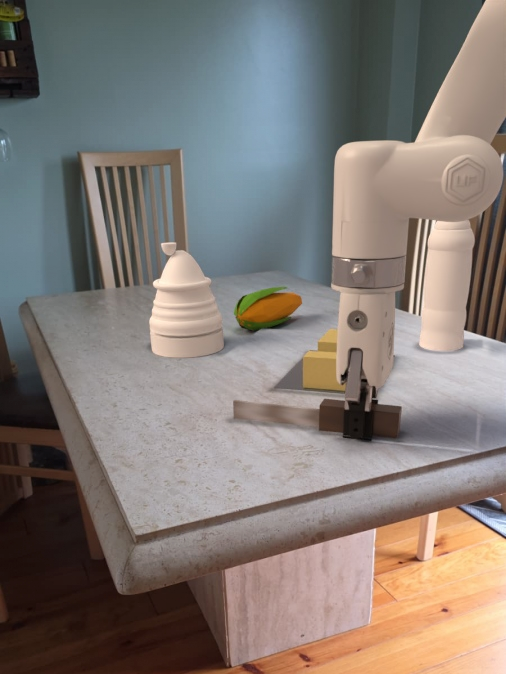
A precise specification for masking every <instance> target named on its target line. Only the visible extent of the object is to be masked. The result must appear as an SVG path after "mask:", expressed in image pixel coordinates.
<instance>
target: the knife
mask: <svg viewBox="0 0 506 674" xmlns="http://www.w3.org/2000/svg"><path fill="white" fill-rule="evenodd" d="M344 407H345V399H344V400H343V399H333V398H323V400H322V401H321V403H320V404H319V407H318V408H314V407H304V406H296V405H295V406H294V405H285V404H278V403H277V404H275V403H267V402H257V401H247V400H237V399H234V400H232V409H233V410H232V411H233V419H236V420H245V421H255V422H264V423H275V424H284V425H295V426H296V425H297V426H302V427H303V426H305V427H313V428H318V432H319V431H320V432H329V433H339V434H343V423H344ZM371 409H374V410H373V427H372V437H378V438H387V441H390V440H388V439H398V437H399V435H400V431H401V421H402V411H403V410H402V409H403V407H402V406H401V405H393V404H383V403H378V404H374V403H371ZM330 435H332V436H333V434H330Z"/></svg>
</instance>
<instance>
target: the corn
mask: <svg viewBox="0 0 506 674" xmlns="http://www.w3.org/2000/svg"><path fill="white" fill-rule="evenodd" d="M287 289H288V287H287V286H276V287H275V286H273V287H267V288H264V289H260V290H257V291H254V292H251V293H248V294H244V295H242V297H240V298H239V300H238V301H237V302H236V304H235V308H234V309H233V315H234V316H235V320H236V322H237V324H238V325H239V327H240V328H241V329H244V330H250V331H260V330H261V329H265V330H266V329H269V328H271V327H275V326H278V325H280V324H283V323H285V322H287V321H290V320H291V319H292V317H291V315H293V314H294V312H296V311H297V310H298V308H300V307H301V305H302V304H303V300H302V296H301V295H299V294H298V293H295V292H279V291H282V290H287Z"/></svg>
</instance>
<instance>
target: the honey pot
mask: <svg viewBox="0 0 506 674" xmlns="http://www.w3.org/2000/svg"><path fill="white" fill-rule="evenodd" d="M160 247H161V250H162V252H163V253H164V254H165V255H166V256H170V257H169V258H168V260H167V261H166V263H165V266H164V268H163V270H162V273H161V276H160V278H157V279H155V280H154V281H153V282H152V286H153V288H154V289H156V292H155V293H156V294H155V298H154V299H153V302H152V305H153V306H152V309H151V316H150V318H149V321H148V324H149V330H150V332H149V336H150V345H151V352H152V353H153V354H154V355H156V356H160V357H163V358H164V357H165V358H172V359H174V358H176V359H189V358H200V357H205V356H210V355H213V354H215V353H219V352H220V351H222V349H224V347H225V340H224V328H223V316H222V313H220V312H219V306H218V305H217V303H216V297H215V296H214V295H213V291H212V290H211V287H210V285H211V284H212V279H211V278H210V277H207V276H205V273H204V272H203V270H202V269H201V267H200V265H199V263H198V262H197V261H196V259H195V258H194V257H193V256H192V255H191V254H190V253H189V252H187V251H185V250H184V249H179V250H177V242H174V241H173V242H172V241H171V242H161V243H160Z"/></svg>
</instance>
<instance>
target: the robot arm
mask: <svg viewBox="0 0 506 674" xmlns="http://www.w3.org/2000/svg"><path fill="white" fill-rule="evenodd" d="M505 119H506V0H485V1H484V2H483V4H482V6H481V8H480V10H479V12H478V14H477V15H476V18H475V19H474V21H473V23H472V25H471V27H470V29H469V31H468V33H467V36H466V38H465V41H464V42H463V43H462V46H461V48H460V50H459V52H458V54H457V56H456V57H455V59H454V62H453V63H452V65H451V66H450V69H449V70H448V73H447V74H446V76H445V78H444V80H443V81H442V84H441V85H440V88H439V90H438V92H437V94H436V96H435V98H434V100H433V102H432V104H431V106H430V109H429V110H428V112H427V115H426V117H425V119H424V121H423V123H422V125H421V128H420V129H419V132H418V134H417V136H416V138H415V141H414V142H405V141H402V140H386V139H385V140H362V141H361V140H360V141H353V142H352V141H351V142H348V143H347V142H346V143H345V144H343V145H341V146H340V147H339V148H338V149H337V151H336V154H335V156H334V157H335V158H334V167H333V198H332V199H333V200H332V201H333V203H332V204H333V205H332V236H331V237H332V242H331V244H332V245H331V246H332V247H331V274H330V275H331V276H330V277H331V279H330V288H331V289H332V290H333V291H336V292H340V293H339V294H340V295H339V305H338V311H337V314H338V319H337V329H338V333H337V356H336V376H337V382H338V383H339V384H340V385H342V386H343V385H344V384H345V382H346V385H345V386H346V387H345V394H344V401H345V407H344V423H343V433H342V439H348V440H357V441H367V442H372V441H373V436H372V427H373V410H374V409H371V403H374V404H379V399H377V398H378V394H379V393H378V391H379V389H381V388H382V387H383V386H384V385H385V384H386V382H387V381H388V377H389V376H390V374H391V372H392V369H393V366H394V360H395V359H394V358H395V357H394V355H395V329H396V328H395V325H396V292H400V291H402V290H404V289H405V279H406V263H407V251H408V239H409V237H408V236H409V225H410V219H420V220H421V219H422V220H429V221H435V222H437V221H443V222H460V221H465V220H468V219H469V220H470V219H474V218H475V217H478V216H480V215H481V214H482V213H484V212H485V211H486V210H487V209H488V208H489V207H490V206H491V205H492V204H493V203H494V202H495V200H496V198H497V197H498V196H499V194H500V191H501V188H502V186H503V181H504V166H503V161H502V159H501V157H500V155H499V152H498V151H497V150H496V149H495V148H494V147H493V146H492V145H491V144H492V142H493V141H494V139H495V137H496V134H497V133H498V131H499V129H500V128H501V126H502V124H503V123H504V121H505Z"/></svg>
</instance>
